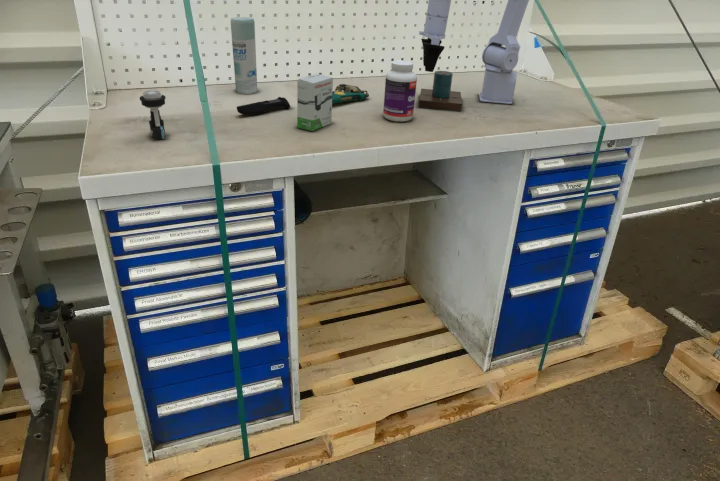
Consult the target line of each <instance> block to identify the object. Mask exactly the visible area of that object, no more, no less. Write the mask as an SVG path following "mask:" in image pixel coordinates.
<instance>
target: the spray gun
mask: <svg viewBox="0 0 720 481" xmlns="http://www.w3.org/2000/svg"><path fill="white" fill-rule="evenodd" d="M367 98H370V94H369V93H368V90H363V89H361V88H359V86H356V85H351V84H345V83H342V84H341V83H340V84H338V85H337V86H336V87H335V89H334V90H332V105H333V104H341V103H346V102H353V101H354V102H355V101H365V100H366V99H367Z"/></svg>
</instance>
